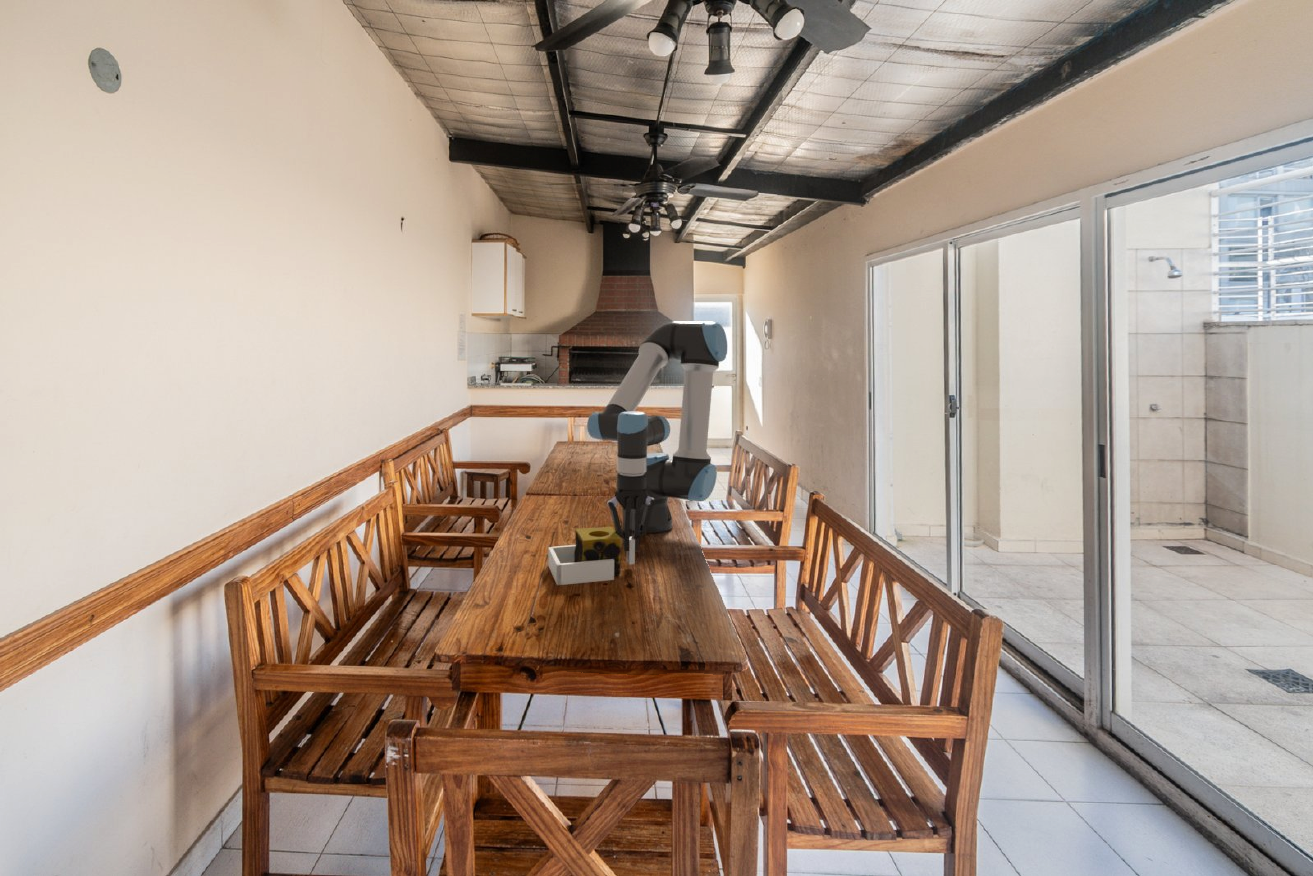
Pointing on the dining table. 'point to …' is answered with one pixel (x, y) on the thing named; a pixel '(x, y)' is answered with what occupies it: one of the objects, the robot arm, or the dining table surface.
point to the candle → (598, 545)
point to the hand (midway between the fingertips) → (630, 562)
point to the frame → (577, 567)
